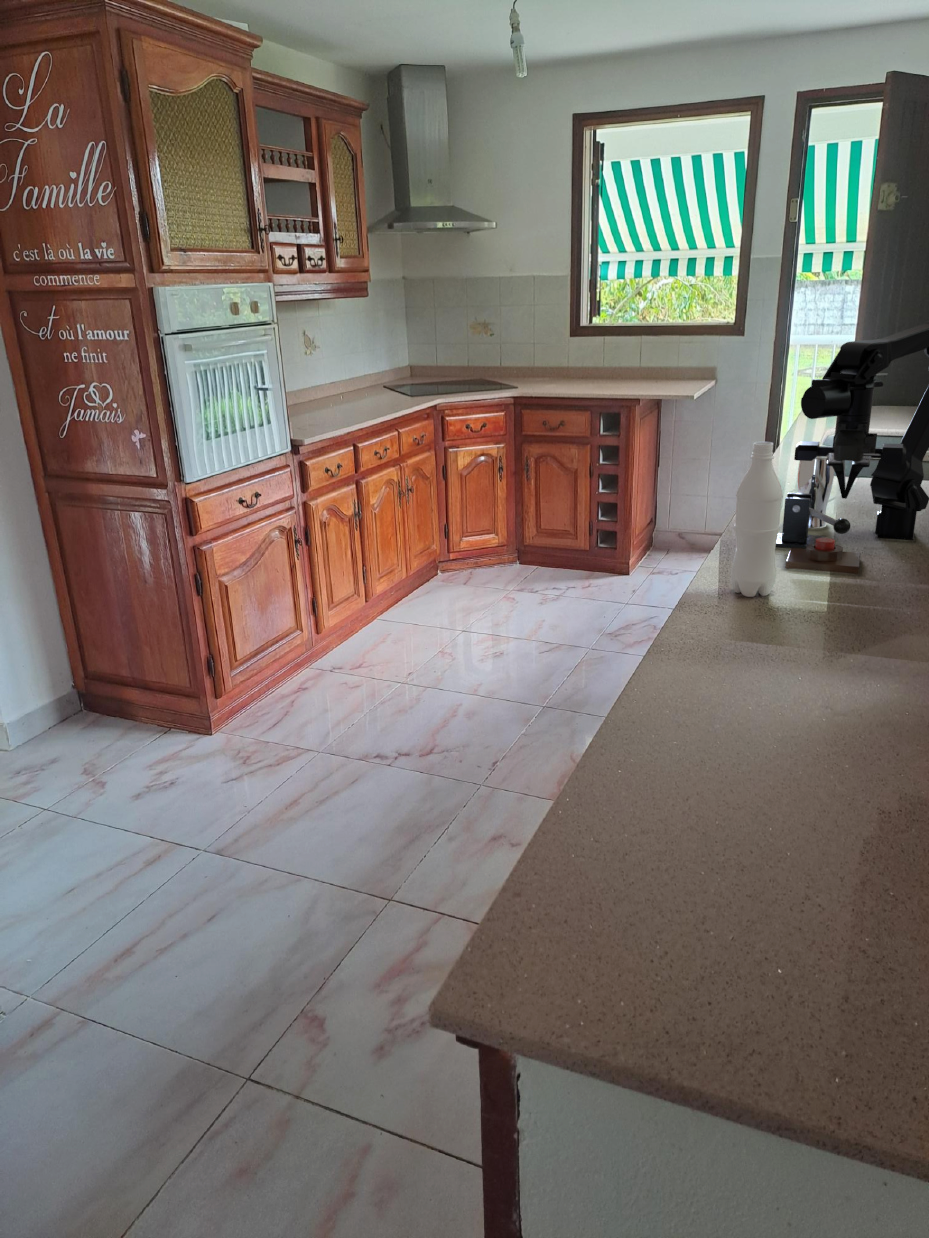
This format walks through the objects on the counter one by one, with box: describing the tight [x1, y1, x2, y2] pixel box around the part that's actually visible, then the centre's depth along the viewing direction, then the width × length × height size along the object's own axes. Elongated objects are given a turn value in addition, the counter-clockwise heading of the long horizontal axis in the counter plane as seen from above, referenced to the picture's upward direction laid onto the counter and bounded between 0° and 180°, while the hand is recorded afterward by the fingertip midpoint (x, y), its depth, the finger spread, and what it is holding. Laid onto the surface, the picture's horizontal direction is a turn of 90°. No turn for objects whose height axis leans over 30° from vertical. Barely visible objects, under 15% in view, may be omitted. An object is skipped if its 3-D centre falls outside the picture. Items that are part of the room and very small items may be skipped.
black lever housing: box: [775, 492, 827, 549], centre depth 171 cm, size 11×8×10 cm
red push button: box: [815, 537, 836, 550], centre depth 158 cm, size 3×3×2 cm
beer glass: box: [796, 456, 835, 530], centre depth 182 cm, size 7×7×15 cm
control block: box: [785, 543, 861, 574], centre depth 159 cm, size 12×9×4 cm
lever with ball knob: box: [793, 496, 851, 535], centre depth 169 cm, size 12×3×3 cm, turn 66°
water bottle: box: [730, 441, 784, 598], centre depth 144 cm, size 7×7×25 cm
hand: (844, 498), depth 166 cm, fingers closed
